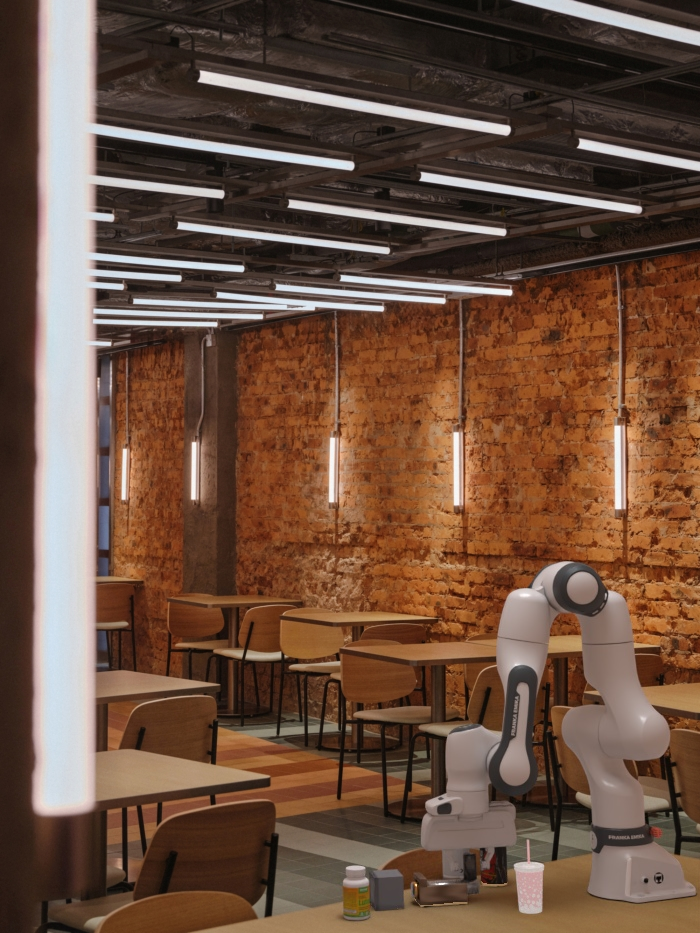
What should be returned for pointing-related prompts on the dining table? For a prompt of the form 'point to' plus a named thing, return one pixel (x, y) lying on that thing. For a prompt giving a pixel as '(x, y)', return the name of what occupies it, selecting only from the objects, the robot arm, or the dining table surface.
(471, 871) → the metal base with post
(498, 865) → the deodorant
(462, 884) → the guide channel
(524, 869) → the beverage cup
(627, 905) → the dining table surface
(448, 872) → the travel mug
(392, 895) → the socket block
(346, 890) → the supplement bottle
